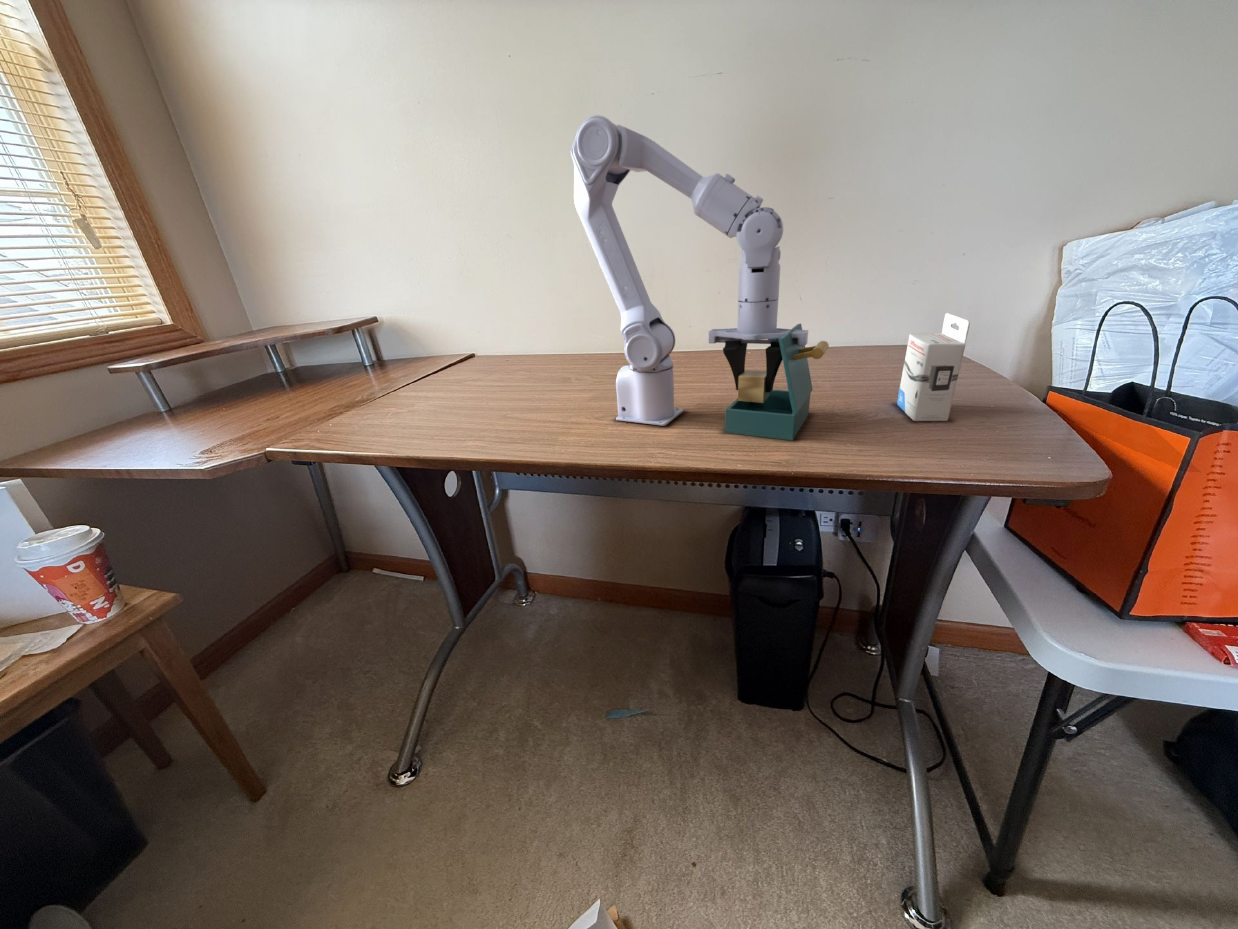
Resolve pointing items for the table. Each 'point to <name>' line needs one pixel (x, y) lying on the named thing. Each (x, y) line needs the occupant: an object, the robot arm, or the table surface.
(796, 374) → the chest lid
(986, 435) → the table surface
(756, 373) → the block
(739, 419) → the chest
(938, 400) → the ink box
